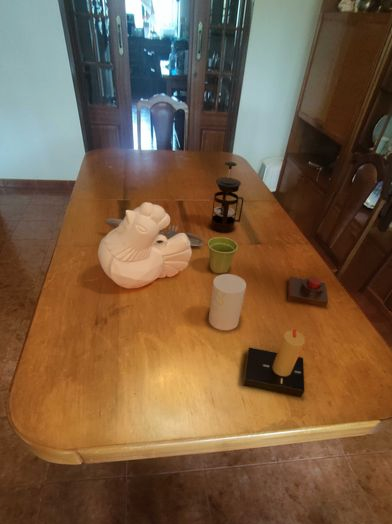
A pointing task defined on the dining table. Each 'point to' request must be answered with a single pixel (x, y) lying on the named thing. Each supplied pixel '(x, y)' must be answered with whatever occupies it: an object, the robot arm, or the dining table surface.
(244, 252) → the dining table surface
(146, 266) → the decorative rooster
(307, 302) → the switch block
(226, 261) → the plant pot
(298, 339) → the dimmer knob
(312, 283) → the button
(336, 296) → the dining table surface
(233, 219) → the french press
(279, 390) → the dimmer
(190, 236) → the spaceship
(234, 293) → the cup
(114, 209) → the dining table surface
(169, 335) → the dining table surface
